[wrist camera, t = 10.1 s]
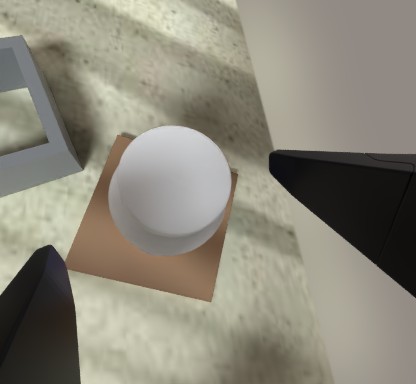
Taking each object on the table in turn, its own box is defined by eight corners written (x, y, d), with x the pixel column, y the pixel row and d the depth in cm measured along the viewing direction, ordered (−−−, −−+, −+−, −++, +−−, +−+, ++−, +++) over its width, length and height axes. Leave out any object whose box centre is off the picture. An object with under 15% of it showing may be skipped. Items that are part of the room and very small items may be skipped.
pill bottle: (139, 172, 18) (134, 81, 9) (206, 196, 19) (265, 136, 9) (109, 243, 16) (61, 221, 7) (184, 266, 17) (230, 275, 8)
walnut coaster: (208, 300, 17) (211, 302, 17) (65, 267, 16) (62, 268, 15) (235, 176, 20) (238, 174, 20) (118, 138, 19) (117, 134, 18)
